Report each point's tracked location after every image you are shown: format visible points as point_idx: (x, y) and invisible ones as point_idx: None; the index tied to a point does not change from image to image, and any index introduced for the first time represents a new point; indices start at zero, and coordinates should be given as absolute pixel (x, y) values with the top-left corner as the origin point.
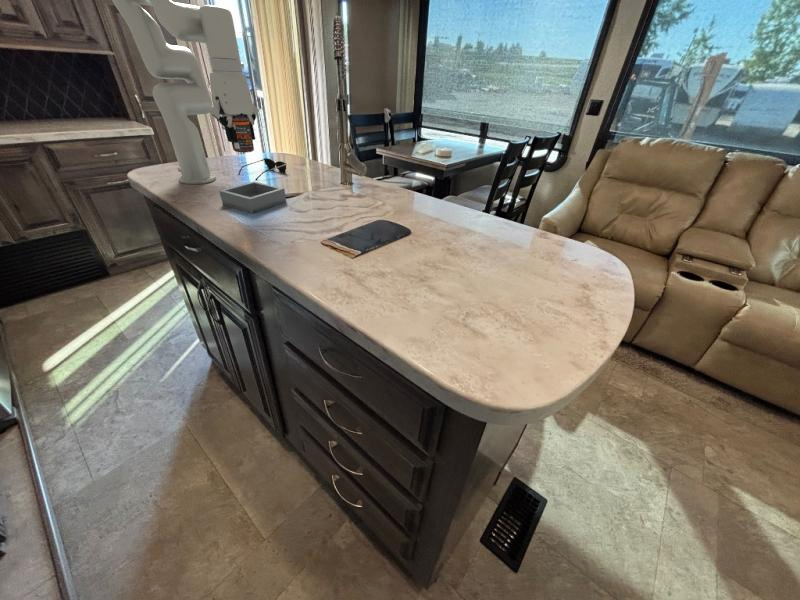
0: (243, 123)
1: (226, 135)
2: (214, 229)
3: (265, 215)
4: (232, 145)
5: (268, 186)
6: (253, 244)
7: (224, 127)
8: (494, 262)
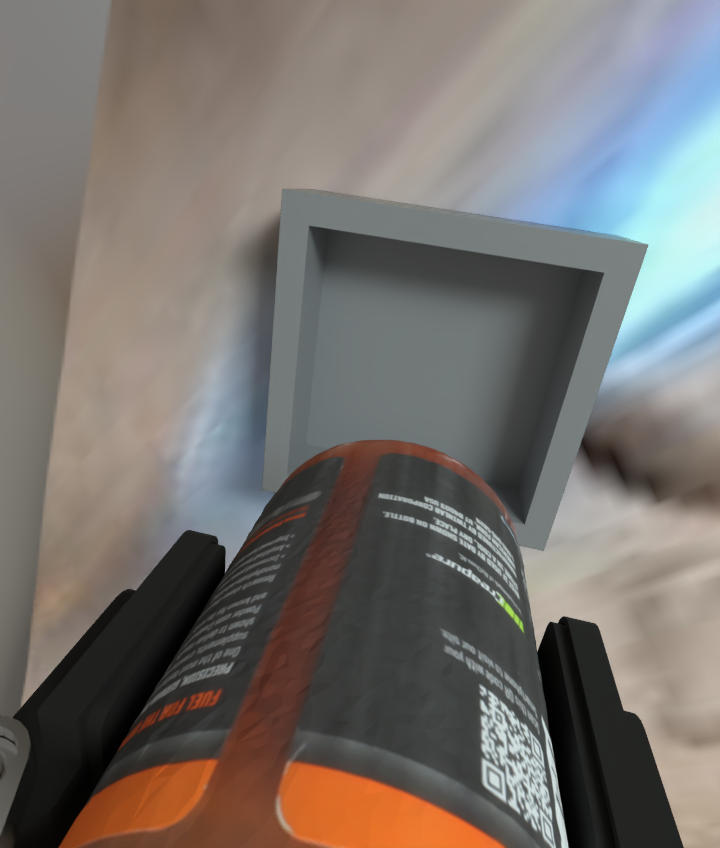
0: None
1: (102, 618)
2: (64, 419)
3: None
4: (262, 513)
5: (552, 433)
6: (75, 612)
7: (6, 726)
8: None
